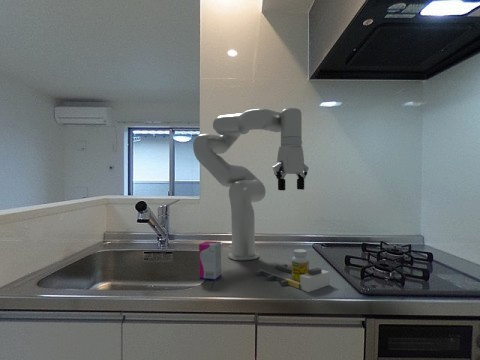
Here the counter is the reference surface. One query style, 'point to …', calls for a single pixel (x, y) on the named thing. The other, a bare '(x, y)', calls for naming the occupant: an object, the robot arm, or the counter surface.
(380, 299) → the counter surface
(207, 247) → the supplement box
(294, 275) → the supplement bottle
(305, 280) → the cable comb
